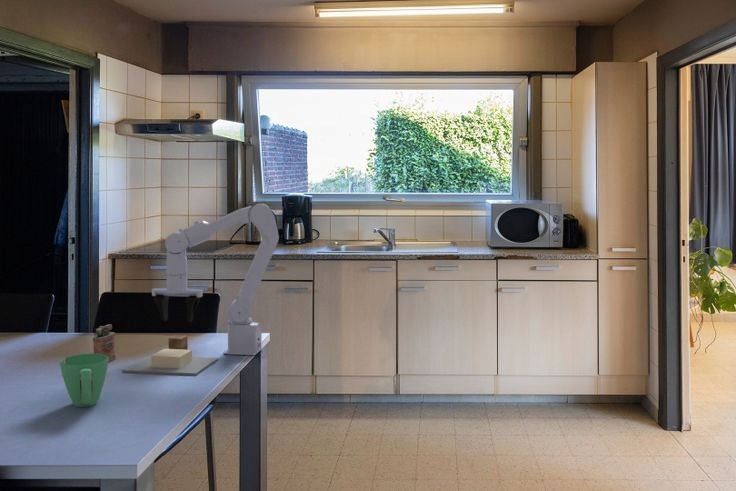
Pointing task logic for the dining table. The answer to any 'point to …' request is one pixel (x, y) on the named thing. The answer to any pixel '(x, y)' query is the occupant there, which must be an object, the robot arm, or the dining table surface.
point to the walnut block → (178, 342)
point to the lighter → (105, 342)
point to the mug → (84, 377)
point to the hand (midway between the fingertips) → (177, 321)
